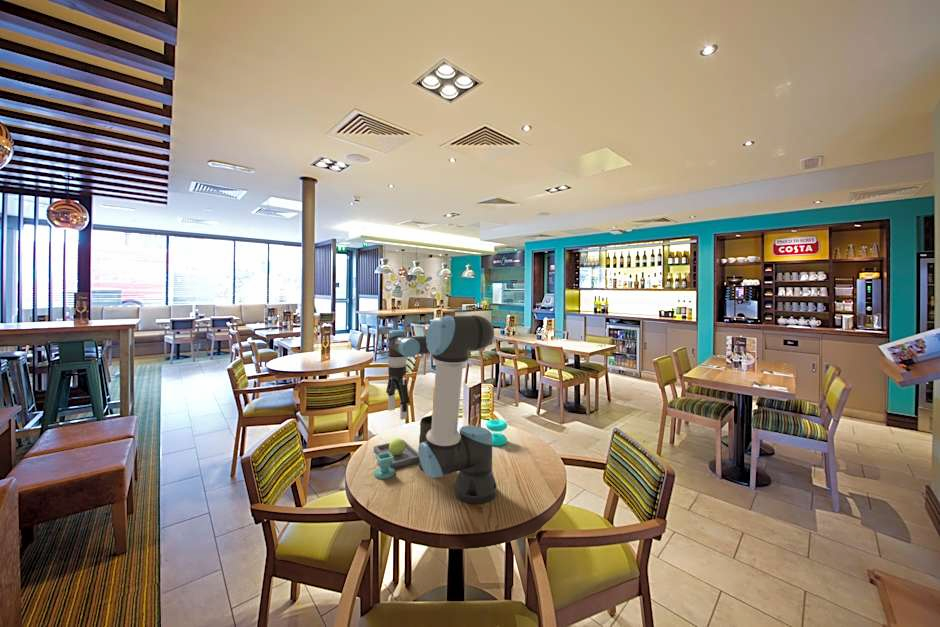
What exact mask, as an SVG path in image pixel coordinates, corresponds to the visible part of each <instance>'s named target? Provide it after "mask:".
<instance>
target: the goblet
mask: <svg viewBox="0 0 940 627" xmlns="http://www.w3.org/2000/svg"><path fill="white" fill-rule="evenodd" d="M375 459H376V461H377V462H376V463H377V464H376V465H377V467H378V468H376V469H375V470H374V472H373V476H374V477H375V478H376V479H379V480H387V479H390V478H393V477H394V476H395V475H396V468H395V469H394V468H392V467H389V466H390V465H392V460H394V457H393V456H392V455H391V454H390V453H389V452H387V453H382V454H378V455H375Z"/></svg>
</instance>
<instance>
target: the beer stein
mask: <svg viewBox="0 0 940 627" xmlns="http://www.w3.org/2000/svg"><path fill="white" fill-rule="evenodd" d="M419 425H420V428H419V429H420V430H419V431H420V432H419V437H418V438H419V441H418V444H419V445H420V443H422V442H426V434H427V432H428V431H429V430H431V426H432V415H428V416H427V415H426V416H424V417H422V418H421V419H420V423H419ZM419 445H418V446H419ZM419 460H420V459H419ZM418 467H419V470H422V471H423V472H424V470H423V468H422V466H421V463H420V462H418Z"/></svg>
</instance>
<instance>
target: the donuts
mask: <svg viewBox="0 0 940 627" xmlns="http://www.w3.org/2000/svg"><path fill="white" fill-rule="evenodd" d="M507 423H508V422H506V421H505V420H503V419H498V418H495V419H490V420H488V421H487V422H486V424H485V425H486V429H487V430H489V431H490V432H491V434H492V441H493V445H492V446H496V447H500V446H503V445H505V444H506V443H507V442H508V441H507V440H508V438H507V436H506V435H504V434H502V433H501V432H504V431H505V430H507V427H508V424H507Z"/></svg>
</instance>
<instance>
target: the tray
mask: <svg viewBox="0 0 940 627" xmlns="http://www.w3.org/2000/svg"><path fill="white" fill-rule="evenodd" d="M402 440H403V441H404V443H405V450H404V452H403V453H402V454H400V455H393V454H391V452H390V451H389V444H390V442H387V443H383V444H378V445H374V446H373V453H375V454H376V455H378V454H382V453H387V452H389V453H390V454H391V455H392V456H393V457H394V460H392V465H390V466H389V467H392V468H394V469H395V470H396V469H398V468H402V467H406V466H410V465H413V464H417V463H418V464H419V462H420V460H419V454H418V450H416V449H414V448H413V447H412V446H411V445H410V444H409V443H407V441H405V440H404V439H402ZM376 455H375V456H376Z"/></svg>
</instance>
